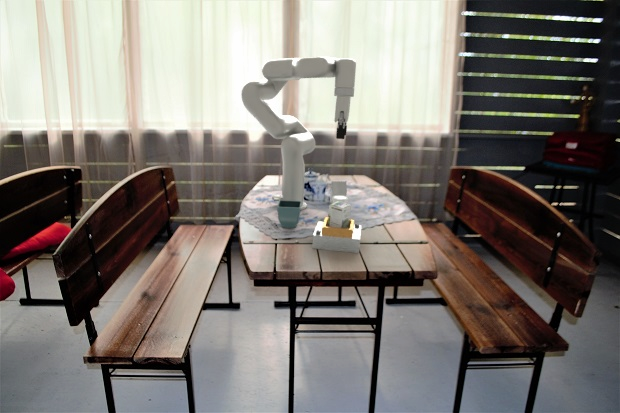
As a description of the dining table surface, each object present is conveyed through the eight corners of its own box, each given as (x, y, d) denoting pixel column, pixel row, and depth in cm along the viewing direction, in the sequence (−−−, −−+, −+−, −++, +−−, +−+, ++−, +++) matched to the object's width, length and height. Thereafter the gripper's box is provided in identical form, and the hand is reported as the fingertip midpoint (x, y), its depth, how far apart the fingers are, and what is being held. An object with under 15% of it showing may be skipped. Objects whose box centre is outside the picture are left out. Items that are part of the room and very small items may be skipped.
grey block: (345, 203, 206) (347, 182, 203) (331, 203, 205) (332, 182, 202) (344, 201, 209) (345, 180, 206) (329, 201, 208) (331, 180, 205)
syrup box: (334, 238, 165) (336, 200, 160) (348, 242, 162) (351, 203, 157) (325, 243, 160) (328, 204, 156) (340, 247, 157) (343, 207, 152)
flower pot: (278, 221, 179) (279, 199, 177) (300, 222, 179) (301, 200, 176) (276, 229, 171) (276, 206, 168) (299, 230, 171) (300, 207, 168)
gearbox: (312, 248, 155) (313, 228, 152) (317, 233, 168) (318, 214, 166) (358, 253, 153) (360, 232, 151) (360, 238, 166) (362, 218, 164)
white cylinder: (350, 213, 193) (351, 197, 191) (340, 216, 188) (341, 200, 186) (338, 209, 197) (339, 193, 195) (328, 212, 193) (329, 196, 190)
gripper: (336, 90, 181) (333, 133, 186) (332, 93, 165) (329, 139, 170) (355, 91, 180) (351, 134, 186) (352, 94, 164) (349, 141, 169)
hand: (341, 136), depth 178 cm, fingers open, 9 cm apart
